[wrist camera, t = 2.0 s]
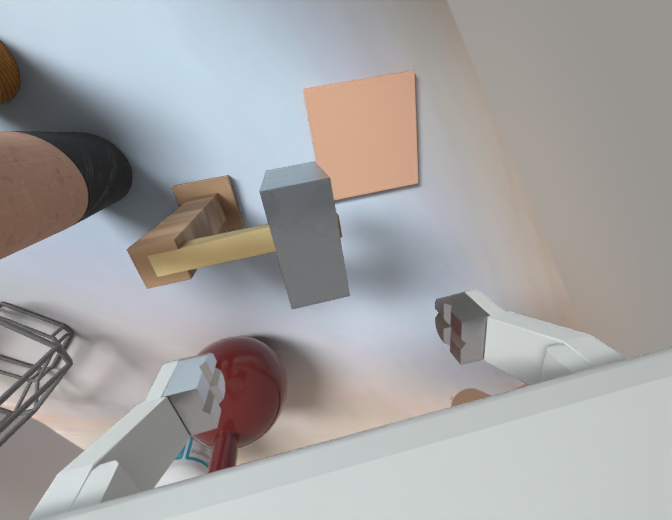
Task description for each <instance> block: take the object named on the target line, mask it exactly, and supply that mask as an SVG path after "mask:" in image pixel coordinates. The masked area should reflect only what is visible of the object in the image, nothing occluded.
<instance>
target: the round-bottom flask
mask: <svg viewBox="0 0 672 520" xmlns="http://www.w3.org/2000/svg"><path fill="white" fill-rule="evenodd" d="M206 353H212V354H213V355H214V357H215V359H216V361H217V362H216V366H215V368H217V369H219V370H221V372H222V374H223V376H224V381H225V395H224V399H223V400H222V401H221V402H220V404H219V406H220V408H221V414H220V418H219V423H218V427H217V428H216V429H213V430H209V431H206V432H202V433H199V434H196V435H192V436H190V437H191V438H192V439H193V440H195V441H196V442H197V443H199V444H200V445H202V446H204V447H206V448H209V449H212V452H211V457H210V461H209V466H208V471H207V474H208V473H211V472H215V471H219V470H222V469H226V468H230V467H233V466H236V461H237V453H238V449H241V448H244V447H246V446H249V445H251V444H253V443H254V442H256V441H258V440H259V439H260V438H262V437H263V436H264V435H265V434H266V433H267V432H268V431H269V430H270V429H271V428H272V427H273V426H274V424H275V423H276V421H277V420H278V418H279V416H280V414H281V412H282V410H283V407H284V405H285V401H286V396H287V375H286V371H285V368H284V365H283V363H282V361H281V359H280V358H279V356H278V355H277V353H276V352H275V351H274V350H273V349H272V348H271V347H270V346H268V345H267V344H265V343H264V342H262V341H260V340H257V339H254V338H251V337H244V336H235V337H228V338H224V339H221V340H219V341H216V342H214V343H212V344H210V345H209V346H207V347H206V348H204V349H203V350H202V351H201V352H200V353H198V354H197V355H202V354H206ZM197 355H196V356H197Z"/></svg>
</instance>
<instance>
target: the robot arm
mask: <svg viewBox="0 0 672 520" xmlns="http://www.w3.org/2000/svg"><path fill="white" fill-rule="evenodd" d="M435 309H436V310H437V311H438V312H439V313H438V315H437V316H436V318H435V324H436V329H437V332H438V334H439V336H440V338H441V340H442V341H443V342H444V343H445V344H448V345H450V352H451V353H452V354H453V356H454V357H455V358H456V360H457V361H458V362H459V363H460V365H462V364H466V363H470V362H475V361H479V360H483V359H484V361H486V362H488V363H489V364H491V365H493V366H495V367H497V368H498V369H500V370H502V371H504V372H506V373H508V374H509V375H511V376H513V377H515V378H517V379H519V380H520V381H522V382H524V383H526V384H528V385H529V386H526V387H523V388H519V389H516V390H512V391H508V392H504V393H501V394H497V395H494V396H490V397H487V398H483V399H479V400H475V401H472V402H468V403H465V404H461V405H457V406H453V407H450V408H446V409H442V410H439V411H435V412H431V413H428V414H424V415H420V416H416V417H413V418H409V419H405V420H402V421H398V422H394V423H391V424H387V425H383V426H380V427H376V428H372V429H369V430H365V431H361V432H358V433H354V434H351V435H347V436H343V437H340V438H336V439H332V440H329V441H325V442H321V443H318V444H314V445H310V446H307V447H303V448H299V449H296V450H292V451H288V452H285V453H281V454H277V455H274V456H270V457H266V458H263V459H259V460H255V461H252V462H248V463H244V464H241V465H237V466H233V467H230V468H226V469H222V470H219V471H215V472H211V473H208V474H204V475H200V476H197V477H193V478H190V479H186V480H182V481H179V482H175V483H171V484H168V485H164V486H160V487H157V488H154V487H155V486H156V485H157V483H158V482H159V480H160V479H161V478H162V476H163V475H164V474H165V472H166V471H167V469H168V468H169V467H170V465H171V464H172V462H173V461H174V460H175V458H176V457H177V456H178V454H179V453H180V451H181V450H182V449H183V447H184V446H185V445H186V443H187V442H188V440H189V439H190V438H191V437H190V436H192V435H196V434H199V433H202V432H206V431H209V430H213V429H216V428H217V427H218V423H219V418H220V414H221V408H220V406H219V404H220V402H221V401H222V400H223V399H224V395H225V381H224V376H223V374H222V372H221V370H219V369H217V368H215V366H216V362H217V361H216V359H215V357H214V355H213V354H212V353H206V354H202V355H197V356H193V357H188V358H183V359H180V360H175V361H171V362H167V363H165V364H164V365H163V366H162V368H161V370H160V372H159V374H158V375H157V377H156V379H155V381H154V383H153V385H152V387H151V389H150V391H149V393H148V395H147V397H146V399H145V401H144V402H142V403H139V404H138V405H137V406H135V407H134V408H133V409H132V410H131V411H130V412H128V413H127V414H126V415H125V416H124V417H123V418H122V419H120V420H119V421H118V422H117V423H116V424H115V425H114V426H112V427H111V428H110V429H109V430H108V431H107V432H105V433H104V434H103V435H102V436H101V437H100V438H99V439H97V440H96V441H95V442H94V443H93V444H92V445H91V446H89V447H88V448H87V449H86V450H85V451H84V452H83V453H81V454H80V455H79V456H78V457H77V458H76V459H74V460H73V461H72V462H71V463H70V464H69V465H68V466H66V467H65V468H64V469H63V470H62V471H61V472H60V473H58V475H57V476H56V478H55V479H54V481H53V482H52V484H51V485H50V487H49V488H48V490H47V491H46V493H45V495H44V496H43V498H42V499H41V501H40V502H39V504H38V505H37V507H36V508H35V510H34V511H33V513H32V514H31V516H30V518H29V519H28V520H672V347H669V348H666V349H662V350H658V351H655V352H651V353H647V354H644V355H640V356H636V357H633V358H629V359H626V358H625V357H623V356H622V355H620V354H619V353H617V352H616V351H614V350H613V349H611V348H610V347H609V346H607V345H606V344H604V343H603V342H601V341H600V340H598V339H597V338H595V337H594V336H592V335H590V334H587V333H583V332H580V331H576V330H573V329H569V328H566V327H563V326H559V325H556V324H552V323H549V322H545V321H542V320H538V319H535V318H531V317H528V316H525V315H521V314H518V313H514V312H511V311H509V312H505V311H504V310H503V309H501V308H500V307H499V306H498V305H496V304H495V303H494V302H493V301H491V300H490V299H489V298H488V297H486V296H485V295H484V294H483V293H482V292H480V291H479V290H477V289H472V290H468V291H464V292H462V293H458V294H454V295H450V296H446V297H442V298H438V299H436V301H435Z"/></svg>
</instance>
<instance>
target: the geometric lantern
mask: <svg viewBox="0 0 672 520" xmlns="http://www.w3.org/2000/svg"><path fill="white" fill-rule="evenodd" d="M2 305H3V306H5V307H8V308H11V309H14V310H16V311H19V312H22V313H24V314H27V315H30V316H33V317H35V318H38V319H41V320H44V321H46V322H49V323H52V324H54V325H57V326H60V328H59V329H57V330H56V331H55V332H54V333H53V334H52V335H48V334H46V333H43V332H40V331H38V330H35V329H33V328H30V327H27V326H25V325H22V324H20V323H17V322H14V321H12V320H9V319H7V318H4V317H1V316H0V325H2V326H4V327H6V328H9V329H11V330H13V331H15V332H18V333H20V334H22V335H24V336H26V337H29V338H31V339H33V340H35V341H38V342H40V343H42V344H44V345H47V346H49V347H51V348H52V349H50V350H49V351H48V352H47V353H46V354H45V355H44V356H43V357H42V358H41V359H40V360H39V361H38V362H37V363H36V364H35V365H34V366H33V365H30V364H26V363H23V362H20V361H17V360H13V359H10V358H7V357H4V356H1V355H0V359H2V360H5V361H8V362H12V363H15V364H18V365H22V366H25V367H28V368H31V369H30V370H28V371H27V372H26V373H25V374H24V375H23V376H19V375H16V374H12V373H9V372H6V371H2V370H0V374H3V375H7V376H10V377H14V378H17V379H19V380H18V381H17V382H16V383H15V384H13V385H12V386H11V387H10V388H9V389H8V390H7V391H6V392H5V393H4V394H3V395H2V396H1V397H0V405H1V404H2V403H4V402H5V401H6V400H7V399H8V398H9V397H10V396H11V395H12V394H13V393H14V392H15V391H16V390H17V389H18V388H19V387H20V386H21V385H22V384H23V383H24V382H25V381H27V382H28V384H27V386H26V388H25V390H24V392H23V394H22V396H21V398H20V400H19V402H18V403H17V405H16V407H15V409H14V411H11V410H8V409H5V408H2V407H0V413H2V414H5V415H7V416H6V417H5V418H4V419H3V420H2V421H0V433H1V432H3V431H4V430H5V429H6V428H7V427H8V426H9V425H10V424H11V423H12V422H13V421H14V420H15V419H16V418H17V417H18V416H20V415H26V416H25V417H24V418H23V419H22V420H21V421H20V422H18V423H17V425H15V426H14V427H13V428H12V429H11V430H10V431H9V432H8V433H7V434H6V435H5V436H4V437H3V438H2V439H1V440H0V447H1V446H2V445H3V443H5V442H6V441H7V440H8V439H9V438H10V437H11V436H12V435H13V434H14V433H15V432H16V431H17V430H18V429H19V428H20V427H21V426H22V425H23V424H24V423H25V422H26V421H27V420H28V419H29V418H31V417H32V416H33V415H34V414H35V413H36V412H37V410H38V409H39V408H40V406H41V405H42V404H43V403H44V401H45V400H46V399H47V397H48V396H49V395H50V393H51V392H52V391H53V389H54V388H55V387H56V386H57V384H58V383H59V382H60V380H61V379H62V378H63V376H64V375H65V374H66V372H67V371H68V370H69V369H70V367H71V366H72V365H73V362H72V359H71V357H70V356H69V355H68V353H67V352H66V350H65V349H64V348H65V346H66V344H67V342H68V341H69V339H70V337H71V335H72V333H73V332H72V331H71V330H70V329H69V328H68V327H67V326H66V325H65V324H61V323H58V322H56V321H53V320H50V319H48V318H45V317H42V316H40V315H37V314H34V313H31V312H29V311H26V310H23V309H21V308H18V307H15V306H13V305H10V304H7V303H4V302H0V307H1V306H2ZM63 328H64V329H65V330H66V331H67V332H68V333H69V334H68V333H66V334H65V335H63V336H62V337H61V338H60V339H59V340H57V338H56V337H55V335H57V334H58V333H59V332H60V331H61V330H62V329H63ZM27 330H28V331H27ZM32 332H33V333H32ZM34 333H36V334H38V335H41V336H43V337H46V338H49V339H51V340H52V341H53V342H52V341H49V340H47V339H45V338H43V337H41V336H38V335H36V334H34ZM65 338H66V339H65ZM64 339H65V341H64V343H63V345H61V344H60V343H61V342H62V341H63V340H64ZM56 351H57V353H58V354H57V355H56V357H55V359H54V361H53V363H52V364H51V366H50V367H47V366H48V364H49V362H50V360H51V358H52V356H53V354H54V353H55V352H56ZM60 356H61V357H62V359H63V360H64V361H65V362H66V365H65V366H64V367H63V368H62V369H61V370H60V371H58V372H57V373H56V374H55V375H54V376H53V377H52V378H51V379H50V380H49V381H48V382H47V383H46V384H44V385H43V386H42V387H41V388H40V389H39V383H40V380H41V379H42V378H43V377H44V376H45V375H46V374H47V373H48V372H49V371H50V370H51V369H52V368H54V366H55V364H56V362H57V360H58V359H59V357H60ZM44 363H45V364H44ZM43 364H44V365H43ZM42 365H43V367H42V368H40V367H41V366H42ZM46 367H47V368H46ZM37 370H38V372H37V373H36V374H35V375H34V376H33V377H31V378H30V379H29V377H30V376H32V375H33V374H34V373H35V372H36V371H37ZM37 376H38V377H37ZM36 377H37V379H35V378H36ZM32 382H35V394H34V395H33V396H31V397H30V398H29V399H28V400H27V401H26V402H25V403H24V404H23V405H22V406H21V404H22V402H23V400H24V398H25V396H26V394H27V392H28V390H29V388H30V386H31V384H32ZM46 390H47V391H46ZM45 391H46V392H45ZM44 392H45V393H44ZM43 393H44V394H43ZM42 394H43V396H42V397H41V398H40V400H39V401H38V399H39V397H40V396H41V395H42ZM33 402H34V408H33V409H30V410H26V409H27V408H28V407H29V406H30V405H31V404H32V403H33ZM20 406H21V407H20Z"/></svg>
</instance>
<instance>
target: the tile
mask: <svg viewBox="0 0 672 520" xmlns="http://www.w3.org/2000/svg"><path fill="white" fill-rule="evenodd" d="M303 93H304V99H305V104H306V110H307V115H308V121H309V126H310V132H311V137H312V143H313V148H314V154H315V159H316V163H317V164H318V165H319V166H320V167H321V168H322V169H323V170H324V172H325V173H326V174H327V175H328V176H329V177H330V179H331V185H332V191H333V197H334V200H338V199H343V198H348V197H353V196H358V195H363V194H368V193H373V192H377V191H382V190H387V189H392V188H397V187H402V186H407V185H412V184H417V183H418V159H417V130H416V102H415V73H414V70H412V71H406V72H400V73H395V74H389V75H383V76H377V77H371V78H365V79H359V80H353V81H347V82H341V83H335V84H329V85H323V86H317V87H311V88H305V89H303Z"/></svg>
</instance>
